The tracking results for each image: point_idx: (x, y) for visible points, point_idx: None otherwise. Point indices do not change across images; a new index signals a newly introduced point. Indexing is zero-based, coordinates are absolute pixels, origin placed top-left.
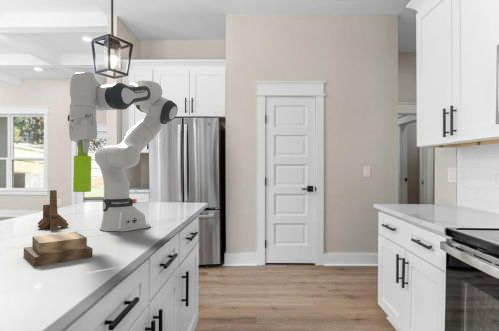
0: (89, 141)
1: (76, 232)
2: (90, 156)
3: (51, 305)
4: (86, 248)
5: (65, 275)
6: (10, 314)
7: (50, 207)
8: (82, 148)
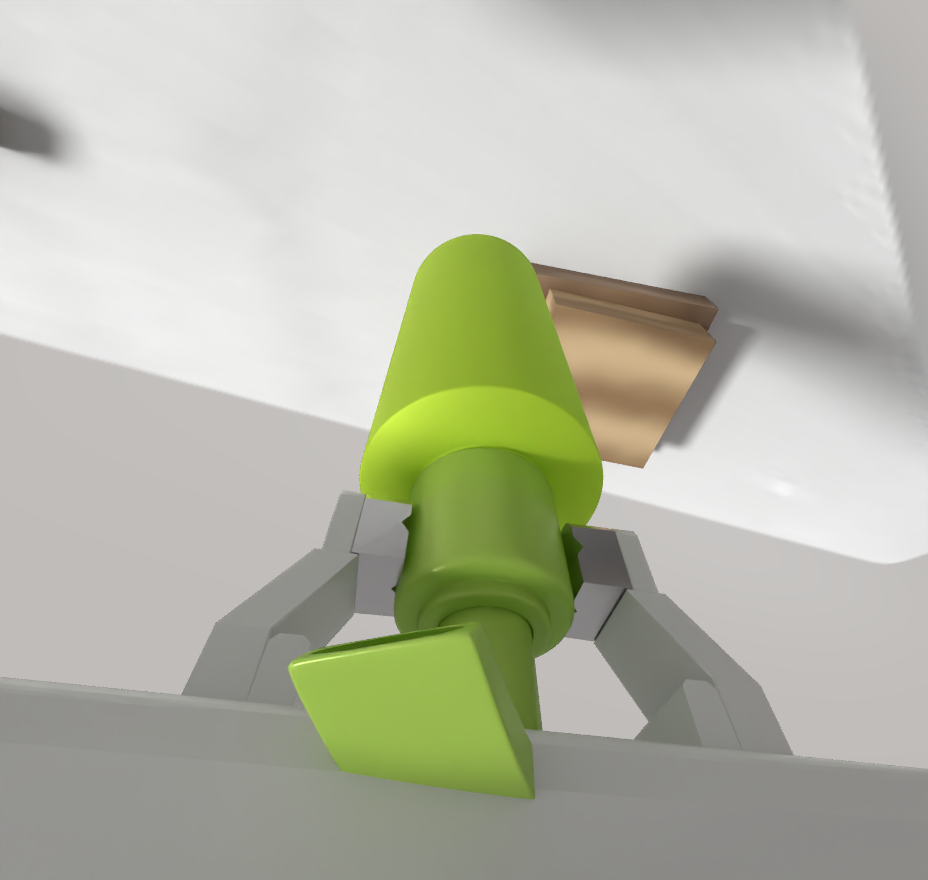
0: (772, 725)
1: (576, 313)
2: (585, 433)
3: (902, 512)
4: (698, 324)
5: (784, 431)
6: (859, 552)
7: None
8: (583, 626)
